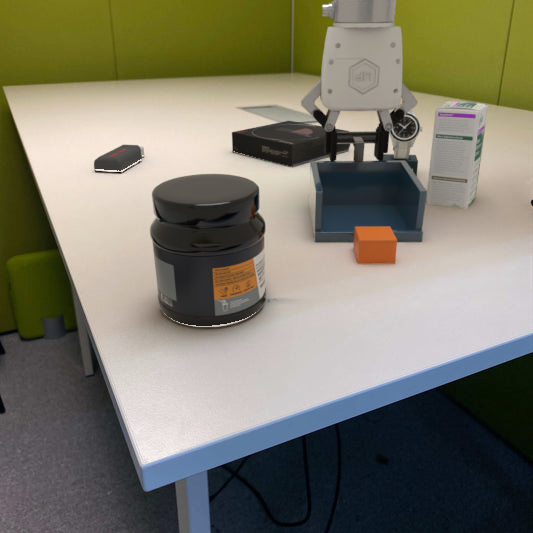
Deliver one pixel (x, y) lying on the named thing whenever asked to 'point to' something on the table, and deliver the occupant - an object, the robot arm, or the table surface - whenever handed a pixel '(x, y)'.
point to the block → (374, 244)
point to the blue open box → (364, 195)
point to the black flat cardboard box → (284, 142)
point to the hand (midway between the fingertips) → (355, 157)
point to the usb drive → (119, 158)
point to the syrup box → (456, 153)
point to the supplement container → (208, 248)
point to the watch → (404, 140)
